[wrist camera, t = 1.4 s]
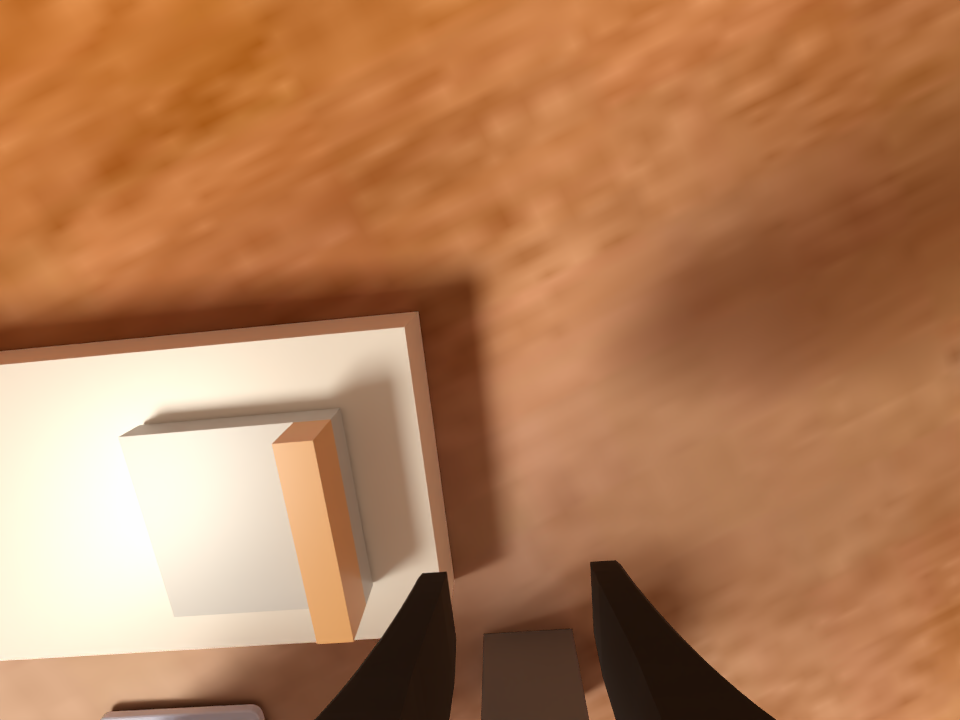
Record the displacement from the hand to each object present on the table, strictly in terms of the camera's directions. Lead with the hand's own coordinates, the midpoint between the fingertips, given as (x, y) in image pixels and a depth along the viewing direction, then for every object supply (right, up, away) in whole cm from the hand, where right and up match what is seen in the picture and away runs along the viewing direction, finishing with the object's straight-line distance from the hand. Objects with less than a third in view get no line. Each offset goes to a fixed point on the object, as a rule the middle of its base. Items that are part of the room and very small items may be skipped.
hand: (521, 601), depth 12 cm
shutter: (-9, +1, +6) cm, 10 cm away
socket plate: (-13, +1, +9) cm, 15 cm away
